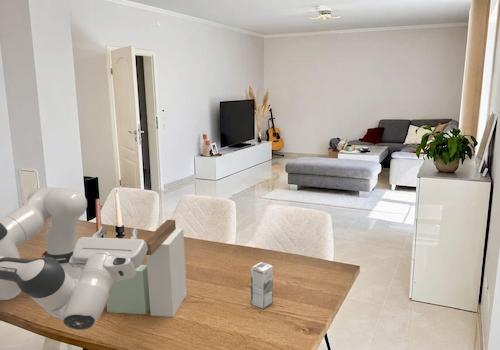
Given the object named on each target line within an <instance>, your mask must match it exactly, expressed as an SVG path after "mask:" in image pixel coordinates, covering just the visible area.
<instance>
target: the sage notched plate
mask: <svg viewBox="0 0 500 350" xmlns="http://www.w3.org/2000/svg"><path fill="white" fill-rule="evenodd" d="M149 311H150V299H149V285H148V272H147V264H141V265H140V266H139V267H138V268H136V275H135V277H133V278H128V279H124V280H120V281H117V282H114V285H113V286H112V288H111V289H110V291H109V297H108V300H107V302H106V312H107V313H116V314H117V313H118V314H132V315H147V313H148V312H149Z"/></svg>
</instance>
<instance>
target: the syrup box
mask: <svg viewBox="0 0 500 350" xmlns="http://www.w3.org/2000/svg"><path fill="white" fill-rule="evenodd" d="M273 295H274V266H273V265H271V264H269V263H266V262H262V261H261V262H259V263H256V264H255V265H253V266H251V267H250V304H251V306H255V307H258V308H259V309H263V310H264V309H265V308H267V307H269V306H270V305H272V304H273V303H274V301H273V300H274V297H273Z"/></svg>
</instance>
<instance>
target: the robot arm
mask: <svg viewBox="0 0 500 350" xmlns="http://www.w3.org/2000/svg"><path fill="white" fill-rule="evenodd" d="M26 200H27V201H25V203H24V204H22V205H21V206H20V207H18V208H16V209H15V210H14V211H12V212H10V213H8V214H7V215H5V216H4V217H2V218H0V300H1V301H2V300H3V301H5V300H7V301H8V300H9V301H10V300H11V299H13V298H15V297H17V296H18V295H20V294H21V292H22V293H24V294H26V295H27V296H28V297H30V298H31V299H32V300H33V301H35V302H36V304H38V305H39V306H40V307H41V308H42V309H43V310H44V311H45V312H46V313H48V314H49V315H50V316H52V317H54V318H55V319H58V320H61V321H62V322H63V324H64V325H65V327H68V328H70V329H73V330H78V331H79V330H81V331H82V330H83V331H84V330H88V329H90V328H92V327H93V326H95V324H96V323H97V322H98V320H99V319H100V317H101V315H102V314H103V311H104V309H105V307H106V306H107V304H106V302H107V300H108V297H109V291H110V289H111V288H112V286H113V285H114V282H117V281H120V280H124V279H128V278H133V277H135V275H136V268H138V267H139V266H140V265H143V262H144V260H145V257H146V253H147V250H148V247H147V244H146V242H145V240H144V239H142V238H140V239H139V238H138V237H137V235H138V233H139V232H138V231H139V230H138V228H137V227H130V230H129V233H130V236H131V237H130V238H122V237H121V238H119V237H117V238H116V237H102V236H106V235H107V232H108V228H107V226H100V228H99V229H98V230H97V232H94V233H93V234H92V236H81V237H79V238H78V237H77V226H78V223H79V219H80V218H81V217H82V216H83V215H84V214H85V212H86V211H87V208H88V200H87V198H86V196H85V195H84V194H82V193H81V192H79V191H76V190H74V189H68V188H61V187H60V188H58V187H51V186H41V187H36V188H34V189H32V190H31V192H30V193H28V196H27V199H26ZM50 218H51V220H52V221H51V226H50V227H49V228H48V229H47V230H46V231H45V234H44V237H45V243H46V244H45V245H46V251H44V252H43V253H41V257H37V258H34V259H33V258H30V259H29V258H28V259H27V258H21V256H20V253H19V250H18V248H17V247H19V246H21V245H22V244H24V243H25V242H27V241H29V239H32V237H34V236H36V235H37V234H38V233H40V232H41V231H42V230H43V228H44V225H45V221H47V219H50Z"/></svg>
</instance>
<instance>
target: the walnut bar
mask: <svg viewBox="0 0 500 350" xmlns="http://www.w3.org/2000/svg"><path fill="white" fill-rule="evenodd" d="M176 228H177V227H176V219H166V220H165V221H164V222H163V223H162V224H161V225H160V226H159V227H158V228H156V229H155V230H154V231H153V233H151V234H150V236H148V237H147V238H146V239H145V240H144V241H145V242H146V244H147V247H148V250H147V253H146V255H152V254H153V253H154V252H155V251H156V250H157V249H158V248H159V247H160V245H161V244H162V243H163V242H164V241H165V240H166V239H167V238H168V237H169V236H170V235H171V234H172V233H173V231H174V230H175V229H176ZM146 255H145V256H146Z"/></svg>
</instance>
